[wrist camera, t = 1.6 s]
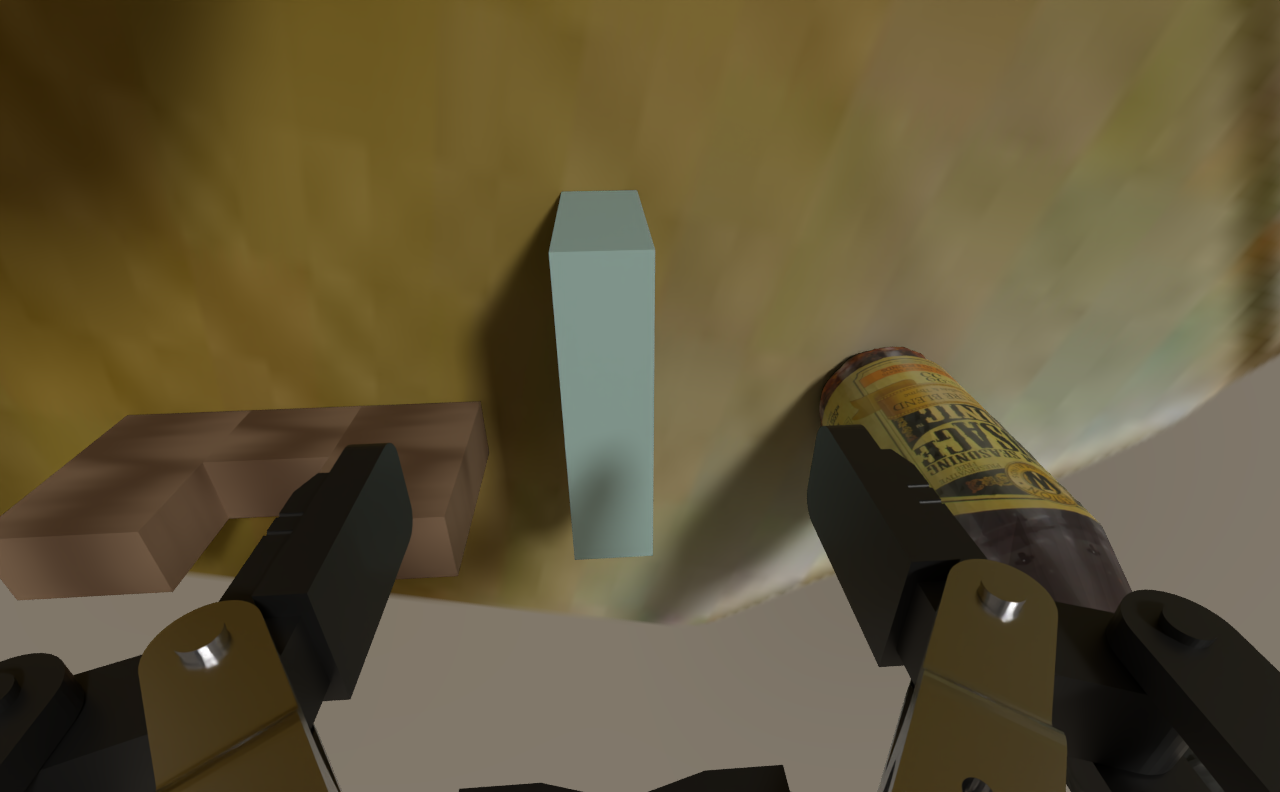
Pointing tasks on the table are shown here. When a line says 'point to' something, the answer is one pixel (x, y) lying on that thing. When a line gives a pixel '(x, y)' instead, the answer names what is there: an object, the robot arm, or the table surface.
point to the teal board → (606, 368)
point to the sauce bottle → (982, 481)
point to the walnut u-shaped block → (229, 492)
